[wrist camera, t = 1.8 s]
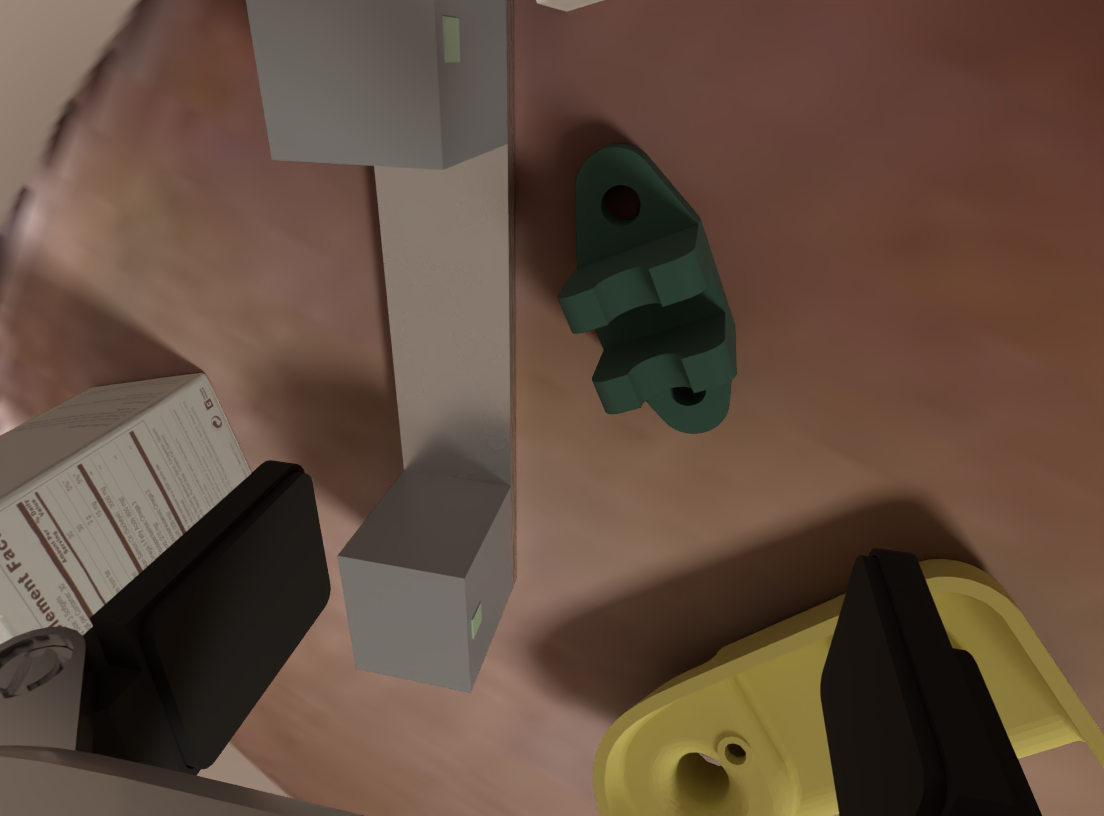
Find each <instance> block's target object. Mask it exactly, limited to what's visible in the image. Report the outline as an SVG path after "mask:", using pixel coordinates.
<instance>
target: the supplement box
mask: <svg viewBox="0 0 1104 816" xmlns="http://www.w3.org/2000/svg"><path fill="white" fill-rule="evenodd" d="M250 474H251V471H250V469H249V466H248V464H247V462H246V460H245V458H244V455H243V453H242V451H241V449H240V447H239V444H238V442H237V440H236V438H235V436H234V433H233V431H232V429H231V427H230V425H229V423H228V420H227V418H226V416H225V414H224V412H223V409H222V407H221V405H220V403H219V401H218V399H217V397H216V395H215V393H214V390H213V388H212V386H211V384H210V382H209V380H208V378H207V376H206V375H205V374H204V373H197V374H188V375H179V376H171V377H164V378H157V379H149V380H142V381H135V382H128V383H120V384H113V385H106V386H99V387H90V388H89V389H87V390H85V391H84V392H82V393H80V394H78V395H76V396H74V397H72V398H70V399H69V400H67V401H65V402H63V403H61V404H59V405H57V406H55V407H53V408H51V409H49V410H48V411H46V412H44V413H42V414H40V415H38V416H37V417H35V418H33V419H31V420H29V421H27V422H25V423H24V424H22V425H20V426H18V427H16V428H14V429H12V430H10V431H8V432H6V433H4V434H3V435H1V436H0V644H2V643H4V642H5V641H7V640H9V639H11V638H13V637H15V636H18V635H21V634H23V633H26V632H29V631H32V630H36V629H41V628H46V627H67V628H71V629H74V630H77V631H78V632H79V633H80V634H81V635H82V636H83V635H84V634H85V633H86V632H87V631H88V630H89V629H90V628H91V627H93V625H92V623H91V620H90V617H91V616H93V615H94V614H95V613H96V612H97V611H98V610H99V609H100V608H101V607H103V606H104V605H105V604H106V603H107V602H108V601H109V600H110V599H112V598H113V597H114V596H115V595H116V594H117V593H118V592H119V591H120V590H122V589H123V588H124V587H125V586H126V585H127V584H128V583H129V582H131V581H132V580H133V579H134V578H135V577H136V576H137V575H138V574H139V573H141V572H142V571H143V570H144V569H145V568H146V567H147V566H148V565H150V564H151V563H152V562H153V561H154V560H155V559H156V558H157V557H158V556H160V555H161V554H162V553H163V552H164V551H165V550H166V549H167V548H169V547H170V546H171V545H172V544H173V543H174V542H175V541H176V540H177V539H179V538H180V537H181V536H182V535H183V534H184V533H185V532H186V531H188V530H189V529H190V528H191V527H192V526H193V525H194V524H195V523H196V522H198V521H199V520H200V519H201V518H202V517H203V516H204V515H205V514H207V513H208V512H209V511H210V510H211V509H212V508H213V507H214V506H215V505H217V504H218V503H219V502H220V501H221V500H222V499H223V498H224V497H226V496H227V495H228V494H229V493H230V492H231V491H232V490H233V489H234V488H236V487H237V486H238V485H239V484H240V483H241V482H242V481H243V480H245V479H246V478H247V477H248V476H249V475H250Z"/></svg>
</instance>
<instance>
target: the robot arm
mask: <svg viewBox="0 0 1104 816" xmlns="http://www.w3.org/2000/svg"><path fill="white" fill-rule="evenodd" d="M330 590H331V587H330V580H329V574H328V569H327V563H326V557H325V551H324V546H323V540H322V534H321V529H320V523H319V517H318V512H317V506H316V500H315V494H314V489H313V483H312V479H311V477H310V475H308V474H306V473H305V472H304V469H303V468H302V467H301V466H300V465H298V464H293V463H286V462H279V461H272V460H270V461H266V462H264V463H263V464H261V465H260V466H259V467H258V468H257V469H256V470H255V471H253V472H252V473H251V474H250V475H249V476H248V477H247V478H246V479H245V480H243V481H242V482H241V483H240V484H239V485H238V486H237V487H236V488H234V489H233V490H232V491H231V492H230V493H229V494H228V495H227V496H226V497H224V498H223V499H222V500H221V501H220V502H219V503H218V504H217V505H215V506H214V507H213V508H212V509H211V510H210V511H209V512H208V513H207V514H205V515H204V516H203V517H202V518H201V519H200V520H199V521H198V522H196V523H195V524H194V525H193V526H192V527H191V528H190V529H189V530H188V531H186V532H185V533H184V534H183V535H182V536H181V537H180V538H179V539H177V540H176V541H175V542H174V543H173V544H172V545H171V546H170V547H169V548H167V549H166V550H165V551H164V552H163V553H162V554H161V555H160V556H158V557H157V558H156V559H155V560H154V561H153V562H152V563H151V564H150V565H148V566H147V567H146V568H145V569H144V570H143V571H142V572H141V573H139V574H138V575H137V576H136V577H135V578H134V579H133V580H132V581H131V582H129V583H128V584H127V585H126V586H125V587H124V588H123V589H122V590H120V591H119V592H118V593H117V594H116V595H115V596H114V597H113V598H112V599H110V600H109V601H108V602H107V603H106V604H105V605H104V606H103V607H101V608H100V609H99V610H98V611H97V612H96V613H95V614H94V615H93V616H91V617H90V620H91V623H92V625H93V627H91V628H90V629H89V630H88V631H87V632H86V633H85V634H84V635H83V636H82V635H81V634H80V633H79V632H78V631H77V630H74V629H71V628H67V627H46V628H41V629H36V630H32V631H29V632H26V633H23V634H21V635H18V636H15V637H13V638H11V639H9V640H7V641H5V642H4V643H2V644H0V816H363V815H359V814H355V813H351V812H347V811H343V810H339V809H334V808H330V807H326V806H322V805H318V804H313V803H309V802H305V801H301V800H297V799H292V798H288V797H284V796H279V795H275V794H271V793H267V792H263V791H258V790H254V789H250V788H246V787H242V786H238V785H233V784H229V783H225V782H221V781H216V780H212V779H208V778H204V777H200V776H196V775H197V774H198V773H199V771H200V770H201V769H206V768H208V767H209V766H211V765H212V764H213V763H214V762H215V760H216V759H217V758H218V756H219V755H220V754H221V752H222V751H223V749H224V748H225V747H226V745H227V744H228V742H229V741H230V740H231V738H232V737H233V735H234V734H235V733H236V731H237V730H238V728H239V727H240V726H241V724H242V723H243V721H244V720H245V719H246V717H247V716H248V714H249V713H250V712H251V710H252V709H253V707H254V706H255V705H256V703H257V702H258V700H259V699H260V698H261V696H262V695H263V693H264V692H265V691H266V689H267V688H268V686H269V685H270V684H271V682H272V681H273V679H274V678H275V676H276V675H277V674H278V672H279V671H280V669H281V668H282V667H283V665H284V664H285V662H286V661H287V660H288V658H289V657H290V655H291V654H292V653H293V651H294V650H295V648H296V647H297V646H298V644H299V643H300V641H301V640H302V639H303V637H304V636H305V634H306V633H307V632H308V630H309V629H310V627H311V626H312V625H313V623H314V622H315V620H316V619H317V618H318V616H319V615H320V613H321V612H322V611H323V609H324V608H325V606H326V604H327V602H328V600H329V596H330ZM820 697H821V704H822V710H823V717H824V723H825V729H826V735H827V742H828V748H829V754H830V760H831V766H832V773H833V779H834V785H835V791H836V798H837V804H838V810H839V816H1042V814H1041V812H1040V810H1039V807H1038V805H1037V803H1036V800H1035V798H1034V796H1033V793H1032V791H1031V789H1030V786H1029V784H1028V782H1027V779H1026V777H1025V774H1024V772H1023V770H1022V767H1021V765H1020V763H1019V760H1018V758H1017V756H1016V753H1015V751H1014V749H1013V746H1012V744H1011V742H1010V739H1009V737H1008V735H1007V732H1006V730H1005V728H1004V725H1003V723H1002V721H1001V718H1000V716H999V714H998V711H997V709H996V707H995V704H994V702H993V700H992V697H991V695H990V693H989V690H988V688H987V686H986V683H985V681H984V679H983V676H982V674H981V672H980V669H979V667H978V665H977V663H976V661H975V659H974V658H973V656H972V655H971V654H970V653H969V652H968V651H967V650H962V649H956V648H952V645H951V643H950V640H949V638H948V635H947V633H946V630H945V627H944V625H943V622H942V620H941V617H940V615H939V612H938V610H937V607H936V605H935V602H934V600H933V597H932V595H931V592H930V590H929V587H928V585H927V582H926V580H925V577H924V575H923V572H922V570H921V567H920V565H919V562H918V560H917V558H916V556H915V555H914V554H912V553H905V552H898V551H892V550H885V549H878V548H874V549H872V551H871V552H870V554H869V556H861V555H860V556H858V557H857V558H856V561H855V564H854V567H853V571H852V574H851V577H850V581H849V584H848V587H847V591H846V594H845V597H844V601H843V604H842V608H841V611H840V614H839V618H838V621H837V624H836V628H835V631H834V634H833V638H832V641H831V645H830V648H829V651H828V655H827V658H826V661H825V665H824V668H823V672H822V676H821V682H820Z"/></svg>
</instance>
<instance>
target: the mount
mask: <svg viewBox="0 0 1104 816" xmlns="http://www.w3.org/2000/svg"><path fill="white" fill-rule="evenodd" d="M617 185H625V186H628V187H630V188H632V189H633V190H634V191H635V192H636V193H637V194H638V196H639V199H640V203H641V209H640V212H639V214H638V215H636V216H635V217H633V218H631V219H619V218H617V217H615V216H613V215H612V214H611V213H610V211H609V210H608V208H607V205H606V195H607V192H608V190H609V189H610V188H611V187H613V186H617ZM575 205H576V251H577V269H576V271H575V272H574V274H573V275H572V276H571V278H570V279H569V281H568V282H567V284H566V285H565V286H564V288H563V289H562V291H561V292H560V293H559V295H558V296H557V298H558V300H559V302H560V305H561V307H562V310H563V312H564V314H565V317H566V319H567V321H568V324H569V326H570V329H571V331H572V333H574V334H578V333H584V332H587V331H590V330H593V329H596V332H597V334H598V337H599V339H600V341H601V344H602V346H603V349H604V351H603V353H602V355H601V358H600V360H599V363H598V365H597V367H596V370H595V372H594V374H593V377H592V381H593V383H594V386H595V388H596V390H597V393H598V395H599V398H600V400H601V402H602V405H603V407H604V409H605V412H606V413H608V414H619V413H623V412H626V411H630V410H634V409H638V408H641V406H642V404H643V403H644V402H645V401H646V402H647V403H648V404H649V405H650V406H651V407H652V408H653V410H654V411H655V412H656V413H657V414H658V415H659V416H660V417H661V418H662V419H663V420H664V421H665V422H666V423H667V424H668V425H669V426H670V427H672V428H674V429H676V430H678V431H680V432H684V433H690V434H697V433H703V432H707V431H709V430H711V429H713V428H715V427H716V426H718V425H719V424H720V423H721V422H722V421H723V420H724V418H725V417H726V415H727V413H728V409H729V404H730V393H731V382H732V379H733V378H734V377H735V376H736V374H737V367H736V332H735V323H734V320H733V317H732V314H731V311H730V308H729V305H728V302H727V299H726V296H725V293H724V290H723V286H722V283H721V280H720V277H719V274H718V271H717V268H716V265H715V262H714V259H713V256H712V253H711V250H710V246H709V243H708V240H707V237H706V234H705V231H704V228H703V225H702V222H701V219H700V217H699V216H698V214H697V213H696V212H695V211H694V210H693V208H692V207H691V206H690V205H689V204H688V202H687V201H686V200H685V199H684V198H683V197H682V195H681V194H680V193H679V192H678V191H677V189H676V188H675V187H674V186H673V185H672V183H671V182H670V181H669V180H668V179H667V178H666V176H665V175H664V174H663V173H662V172H661V170H660V169H659V168H658V167H657V166H656V164H655V163H654V162H653V161H652V160H651V159H650V157H649V156H648V155H647V154H646V153H645V152H643V151H642V150H641V149H639V148H637V147H635V146H633V145H629V144H622V143H619V144H611V145H608V146H606V147H603V148H602V149H600V150H599V151H597V152H596V153H594V154H593V155H592V156H590V157H589V158H588V159H587V160H586V161H585V163H584V164H583V165H582V167H581V169H580V171H579V173H578V176H577V179H576V184H575ZM676 387H689V388H691V389H692V390H693V392H694V393H684V392H681V391H680V390H678V389H677V388H676Z"/></svg>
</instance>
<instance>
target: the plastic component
mask: <svg viewBox="0 0 1104 816" xmlns="http://www.w3.org/2000/svg"><path fill="white" fill-rule="evenodd" d="M919 565H920V567H921V570H922V572H923V575H924V577H925V580H926V582H927V585H928V587H929V590H930V592H931V595H932V597H933V600H934V602H935V605H936V607H937V610H938V612H939V615H940V617H941V620H942V622H943V625H944V627H945V630H946V633H947V635H948V638H949V640H950V643H951V645H952V648H956V649H962V650H967V651H968V652H969V653H970V654H971V655H972V656H973V658H974V659H975V661H976V663H977V665H978V667H979V669H980V672H981V674H982V676H983V679H984V681H985V683H986V686H987V688H988V690H989V693H990V695H991V697H992V700H993V702H994V704H995V707H996V709H997V711H998V714H999V716H1000V718H1001V721H1002V723H1003V725H1004V728H1005V730H1006V732H1007V735H1008V737H1009V739H1010V742H1011V744H1012V746H1013V749H1014V751H1015V753H1016V756H1017V758H1018V759H1019V758H1022V757H1026V756H1029V755H1032V754H1035V753H1039V752H1042V751H1045V750H1048V749H1052V748H1055V747H1058V746H1062V745H1065V744H1068V743H1071V742H1075V741H1083V742H1086V743H1087V744H1088V745H1089V747H1090V748H1091V750H1092V751H1093V753H1094V754H1095V756H1096V757H1097V759H1098V760H1099V762H1100V763H1101V765H1102V766H1103V768H1104V735H1103V734H1102V732H1101V731H1100V729H1099V728H1098V726H1097V725H1096V723H1095V722H1094V720H1093V719H1092V717H1091V716H1090V714H1089V713H1088V711H1087V710H1086V708H1085V707H1084V705H1083V704H1082V702H1081V701H1080V699H1079V698H1078V696H1077V695H1076V693H1075V692H1074V690H1073V689H1072V688H1071V686H1070V685H1069V683H1068V682H1067V680H1066V679H1065V677H1064V676H1063V674H1062V673H1061V671H1060V670H1059V668H1058V667H1057V665H1056V664H1055V662H1054V661H1053V659H1052V658H1051V656H1050V655H1049V653H1048V652H1047V650H1046V649H1045V647H1044V646H1043V644H1042V643H1041V641H1040V640H1039V638H1038V637H1037V635H1036V634H1035V632H1034V631H1033V629H1032V628H1031V626H1030V625H1029V623H1028V622H1027V620H1026V619H1025V617H1024V616H1023V614H1022V613H1021V611H1020V610H1019V608H1018V607H1017V605H1016V604H1015V603H1014V601H1013V600H1012V598H1011V597H1010V595H1009V594H1008V592H1007V591H1006V590H1005V589H1004V587H1003V586H1002V585H1001V584H1000V583H999V582H998V581H997V580H996V579H994V578H993V577H992V576H990V575H989V574H988V573H986V572H984V571H982V570H981V569H979V568H977V567H974V566H972V565H970V564H967V563H963V562H959V561H954V560H948V559H932V560H925V561H920V562H919ZM845 594H846V593H845ZM845 594H843V595H841V596H838V597H836V598H834V599H831V600H829V601H827V602H825V603H822V604H820V605H818V606H815V607H813V608H811V609H809V610H806V611H804V612H802V613H800V614H797V615H795V616H793V617H790V618H788V619H786V620H784V621H781V622H779V623H777V624H774V625H772V626H770V627H768V628H765V629H763V630H761V631H758V632H756V633H754V634H752V635H749V636H747V637H745V638H743V639H740V640H738V641H736V642H733V643H731V644H729V645H727V646H724V647H723V648H721V649H720V650H719V651H718V652H717V654H716V656H714V657H713V658H712V659H711V660H709V661H708V662H706V663H704V664H702V665H700V666H698V667H695V668H693V669H691V670H688V671H686V672H684V673H682V674H680V675H678V676H676V677H675V678H673V679H671V680H669V681H668V682H666V683H664V684H663V685H661V686H660V687H659V688H657V689H656V690H654V691H653V692H652V693H650V694H649V695H648V696H646V697H645V698H643V699H642V700H640V701H639V702H638V703H636V704H635V705H634V706H632V707H631V708H630V709H629V710H627V711H626V712H625V713H624V714H622V715H621V716H620V717H619V718H618V719H617V720H616V721H615V722H614V723H613V724H612V725H611V727H610V728H609V729H608V730H607V732H606V733H605V735H604V736H603V738H602V740H601V742H600V744H599V747H598V750H597V753H596V756H595V761H594V767H593V787H594V795H595V800H596V804H597V808H598V811H599V814H600V816H833V815H836V814H839V810H838V804H837V798H836V791H835V785H834V779H833V773H832V766H831V760H830V754H829V748H828V742H827V735H826V729H825V723H824V717H823V710H822V704H821V697H820V682H821V676H822V672H823V668H824V665H825V661H826V658H827V655H828V651H829V648H830V645H831V641H832V638H833V634H834V631H835V628H836V624H837V621H838V618H839V614H840V611H841V608H842V604H843V601H844V597H845ZM699 753H702V754H705V755H708V756H710V757H711V758H713V759H715V760H716V761H717V762H718V763H720V765H721V766H717V765H715V764H712V763H709V762H707V761H706V760H705V759H704V758H703V757H702V756H701V755H699Z"/></svg>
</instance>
